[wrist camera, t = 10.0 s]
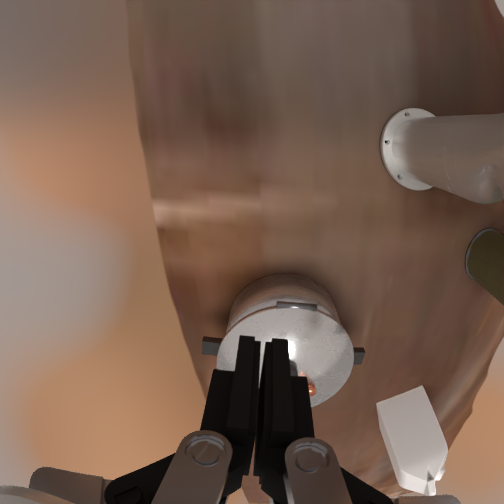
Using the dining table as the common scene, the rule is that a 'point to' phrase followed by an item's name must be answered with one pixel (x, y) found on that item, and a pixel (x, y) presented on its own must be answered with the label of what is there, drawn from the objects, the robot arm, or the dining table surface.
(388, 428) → the milk
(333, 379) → the lid
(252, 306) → the pot
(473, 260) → the canister
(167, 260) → the dining table surface
